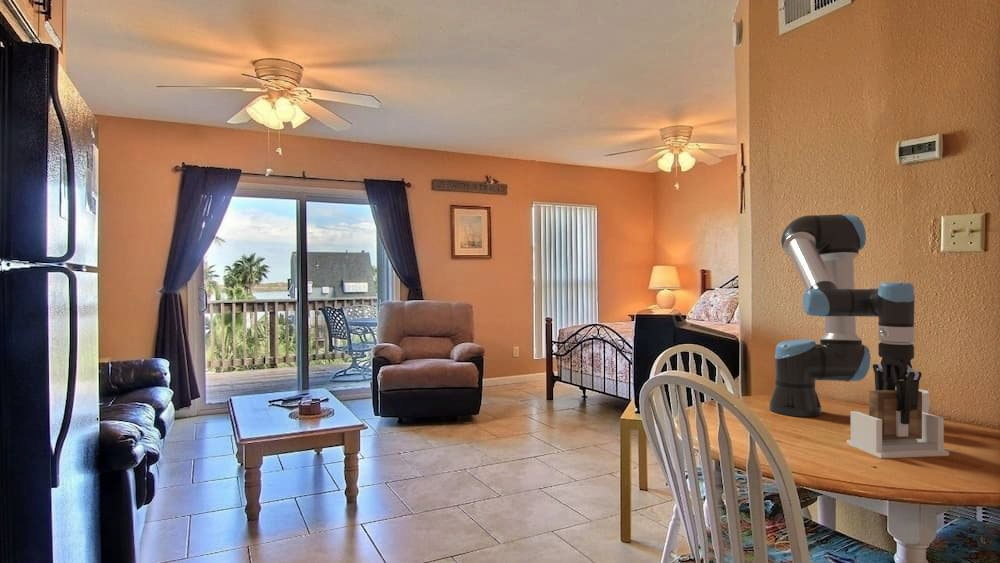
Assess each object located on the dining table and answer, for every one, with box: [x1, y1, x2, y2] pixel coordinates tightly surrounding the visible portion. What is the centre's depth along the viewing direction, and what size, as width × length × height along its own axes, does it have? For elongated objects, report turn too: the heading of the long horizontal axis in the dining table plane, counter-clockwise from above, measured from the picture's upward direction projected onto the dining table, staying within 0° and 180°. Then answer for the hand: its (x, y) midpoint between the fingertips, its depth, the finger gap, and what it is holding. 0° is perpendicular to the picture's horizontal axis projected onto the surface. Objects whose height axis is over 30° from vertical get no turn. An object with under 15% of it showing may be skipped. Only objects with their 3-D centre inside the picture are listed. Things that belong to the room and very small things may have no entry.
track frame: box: [846, 410, 950, 459], centre depth 145 cm, size 12×18×9 cm, turn 95°
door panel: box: [868, 390, 922, 440], centre depth 145 cm, size 3×12×12 cm, turn 95°
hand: (895, 433), depth 145 cm, fingers closed on door panel, 3 cm apart
